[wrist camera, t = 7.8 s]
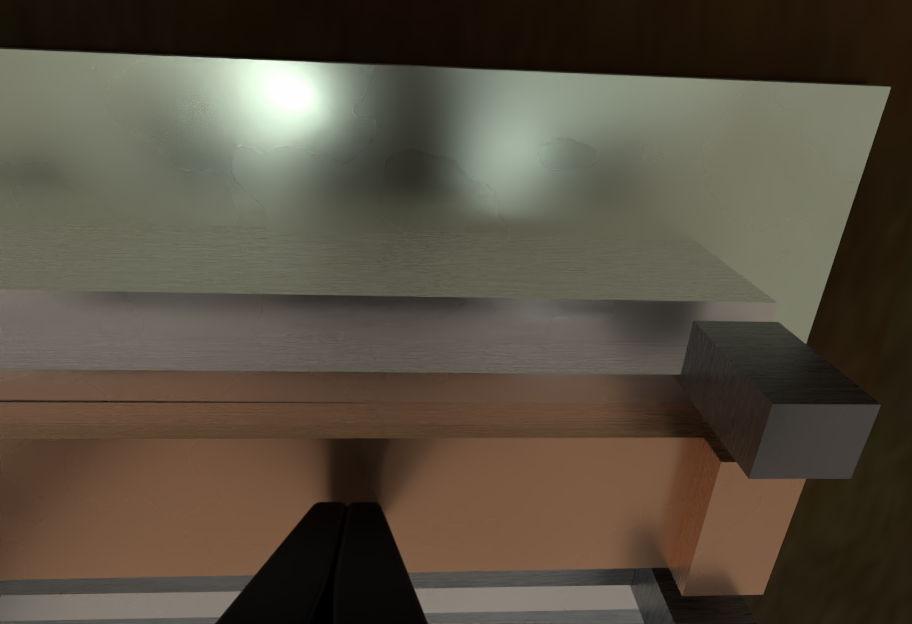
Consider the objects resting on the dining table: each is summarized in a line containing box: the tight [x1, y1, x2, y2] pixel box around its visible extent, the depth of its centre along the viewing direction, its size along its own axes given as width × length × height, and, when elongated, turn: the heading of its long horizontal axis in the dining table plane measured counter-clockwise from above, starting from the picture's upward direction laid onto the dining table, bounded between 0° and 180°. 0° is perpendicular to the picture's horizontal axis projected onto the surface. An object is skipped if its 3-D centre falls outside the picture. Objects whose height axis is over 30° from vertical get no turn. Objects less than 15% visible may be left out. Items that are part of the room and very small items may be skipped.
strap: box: [0, 402, 806, 596], centre depth 8 cm, size 15×3×1 cm, turn 88°
